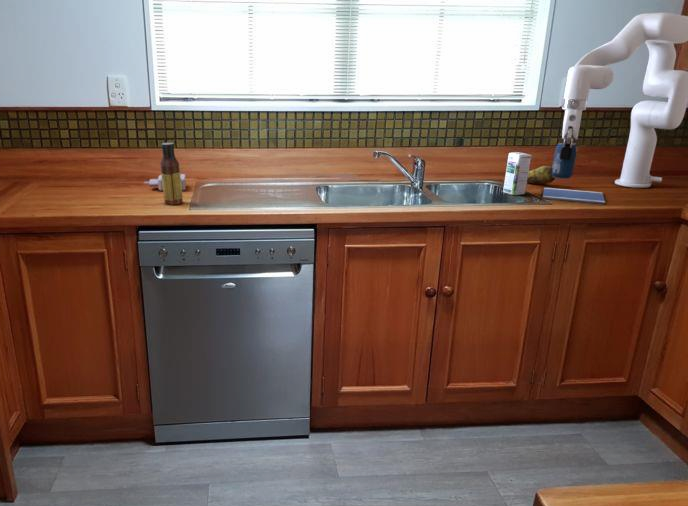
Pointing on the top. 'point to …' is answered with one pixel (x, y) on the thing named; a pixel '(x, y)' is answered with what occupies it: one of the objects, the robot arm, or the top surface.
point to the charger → (159, 182)
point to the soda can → (563, 163)
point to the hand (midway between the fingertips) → (564, 157)
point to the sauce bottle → (171, 176)
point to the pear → (540, 175)
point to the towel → (573, 195)
